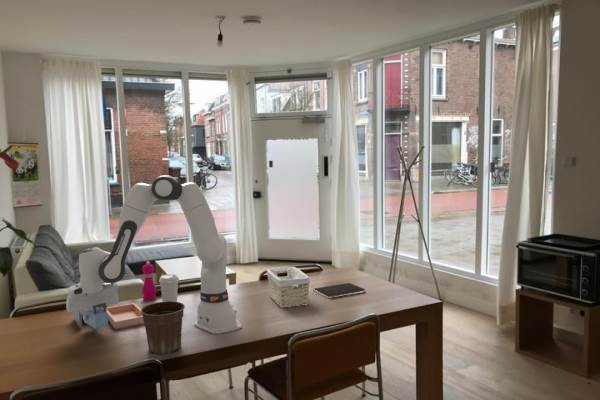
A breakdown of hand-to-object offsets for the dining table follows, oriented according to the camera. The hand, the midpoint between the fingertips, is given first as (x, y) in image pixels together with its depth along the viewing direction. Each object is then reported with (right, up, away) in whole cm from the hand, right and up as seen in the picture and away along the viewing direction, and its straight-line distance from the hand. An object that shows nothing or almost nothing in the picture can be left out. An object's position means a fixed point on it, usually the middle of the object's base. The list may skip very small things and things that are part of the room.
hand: (94, 318), depth 204 cm
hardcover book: (+108, 0, +56) cm, 122 cm away
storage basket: (+81, -2, +41) cm, 91 cm away
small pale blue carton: (+1, -2, -1) cm, 3 cm away
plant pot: (+35, -8, -17) cm, 39 cm away
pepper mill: (+9, -1, +45) cm, 46 cm away
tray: (+8, -4, +15) cm, 18 cm away
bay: (-8, -5, +12) cm, 15 cm away
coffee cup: (+23, -3, +34) cm, 41 cm away
